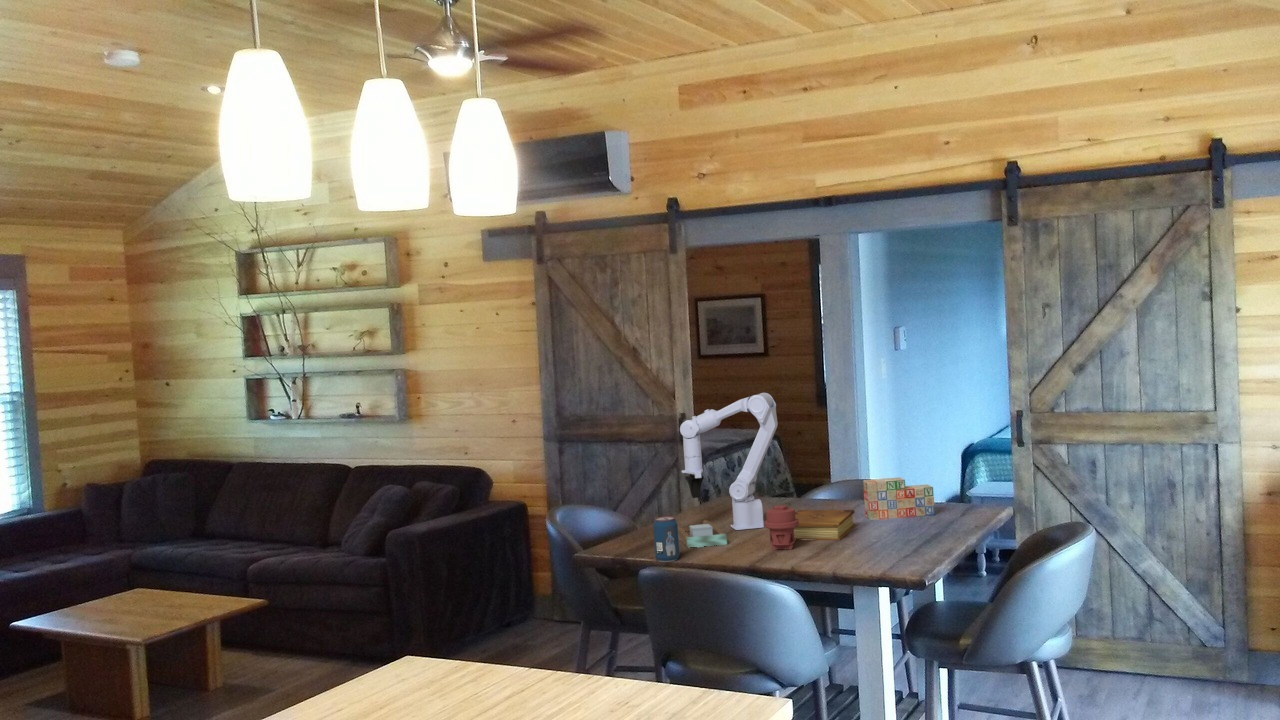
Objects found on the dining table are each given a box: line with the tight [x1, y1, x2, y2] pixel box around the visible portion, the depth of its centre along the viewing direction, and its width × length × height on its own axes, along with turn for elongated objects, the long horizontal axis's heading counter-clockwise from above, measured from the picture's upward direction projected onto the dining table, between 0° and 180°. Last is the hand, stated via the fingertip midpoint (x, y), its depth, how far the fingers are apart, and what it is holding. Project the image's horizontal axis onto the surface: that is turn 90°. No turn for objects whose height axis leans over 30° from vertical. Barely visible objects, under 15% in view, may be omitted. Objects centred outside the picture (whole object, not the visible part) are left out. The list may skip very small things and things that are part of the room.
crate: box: [688, 523, 713, 537], centre depth 346 cm, size 6×6×5 cm
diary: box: [794, 509, 856, 541], centre depth 348 cm, size 23×19×6 cm
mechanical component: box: [763, 504, 799, 550], centre depth 327 cm, size 12×10×10 cm
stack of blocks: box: [862, 477, 936, 521], centre depth 367 cm, size 21×6×12 cm, turn 92°
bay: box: [677, 519, 728, 549], centre depth 352 cm, size 12×28×3 cm, turn 8°
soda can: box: [652, 515, 680, 563], centre depth 322 cm, size 7×7×12 cm
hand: (695, 497), depth 370 cm, fingers closed
